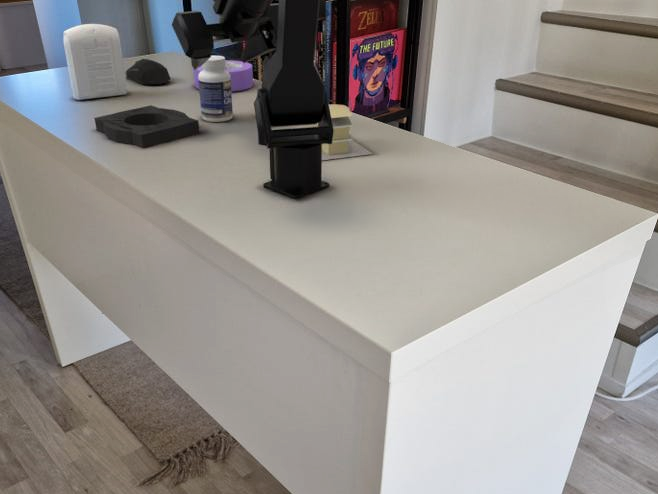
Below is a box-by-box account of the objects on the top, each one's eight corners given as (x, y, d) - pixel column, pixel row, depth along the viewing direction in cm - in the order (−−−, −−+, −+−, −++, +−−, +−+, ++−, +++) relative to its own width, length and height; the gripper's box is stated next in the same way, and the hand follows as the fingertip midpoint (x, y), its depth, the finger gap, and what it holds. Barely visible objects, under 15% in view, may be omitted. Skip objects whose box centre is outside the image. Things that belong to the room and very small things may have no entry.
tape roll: (209, 77, 140) (207, 57, 138) (261, 81, 138) (260, 61, 136) (185, 90, 131) (183, 69, 129) (240, 94, 129) (239, 73, 126)
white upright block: (123, 90, 131) (112, 20, 123) (131, 95, 128) (120, 23, 120) (70, 97, 126) (56, 24, 119) (77, 102, 123) (63, 28, 116)
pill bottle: (231, 122, 113) (227, 61, 108) (199, 122, 113) (193, 60, 108) (234, 114, 118) (231, 54, 112) (204, 113, 118) (199, 54, 112)
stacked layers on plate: (372, 154, 101) (374, 116, 97) (317, 161, 98) (318, 122, 94) (345, 135, 108) (346, 100, 105) (293, 141, 105) (293, 105, 102)
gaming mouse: (139, 70, 145) (137, 50, 142) (176, 83, 136) (174, 62, 134) (113, 75, 141) (110, 54, 139) (149, 88, 132) (147, 66, 130)
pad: (205, 131, 109) (204, 119, 108) (137, 150, 101) (135, 136, 100) (157, 115, 116) (155, 103, 115) (89, 131, 108) (87, 119, 107)
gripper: (282, -57, 101) (247, 15, 114) (169, -52, 91) (146, 25, 105) (312, 9, 100) (274, 73, 114) (202, 20, 91) (174, 88, 104)
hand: (218, 63), depth 109 cm, fingers open, 9 cm apart
